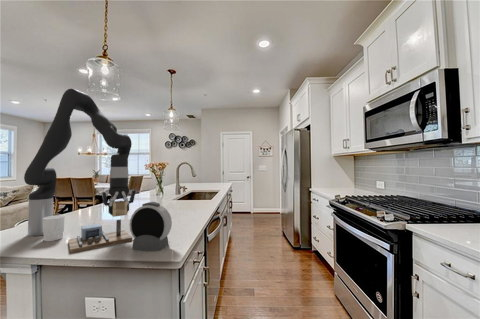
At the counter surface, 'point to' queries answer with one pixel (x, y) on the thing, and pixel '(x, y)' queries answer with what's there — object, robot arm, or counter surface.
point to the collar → (119, 208)
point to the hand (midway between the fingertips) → (118, 213)
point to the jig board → (100, 244)
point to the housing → (91, 231)
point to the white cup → (53, 227)
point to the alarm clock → (150, 227)
